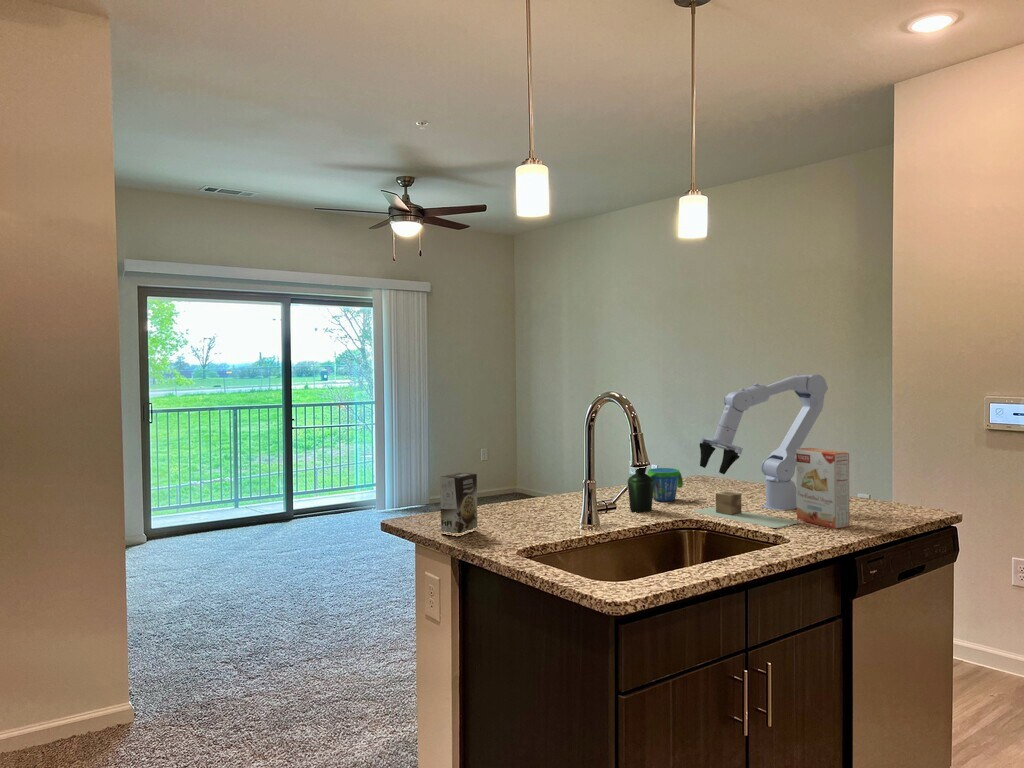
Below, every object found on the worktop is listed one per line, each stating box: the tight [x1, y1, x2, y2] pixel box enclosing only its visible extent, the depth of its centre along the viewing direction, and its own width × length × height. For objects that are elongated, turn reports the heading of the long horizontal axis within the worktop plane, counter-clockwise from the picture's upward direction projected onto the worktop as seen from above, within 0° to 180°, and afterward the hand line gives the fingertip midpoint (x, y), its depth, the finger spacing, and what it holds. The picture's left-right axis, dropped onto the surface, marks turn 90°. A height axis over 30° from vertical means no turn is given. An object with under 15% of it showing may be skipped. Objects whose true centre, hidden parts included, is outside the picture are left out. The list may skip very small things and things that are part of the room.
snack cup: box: [647, 467, 684, 502], centre depth 245 cm, size 16×10×10 cm
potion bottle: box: [627, 462, 654, 514], centre depth 226 cm, size 8×8×18 cm
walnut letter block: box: [715, 490, 742, 515], centre depth 220 cm, size 5×6×6 cm
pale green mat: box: [689, 506, 802, 529], centre depth 215 cm, size 12×30×1 cm, turn 35°
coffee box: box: [440, 472, 478, 533], centre depth 200 cm, size 9×6×16 cm
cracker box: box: [795, 447, 850, 530], centre depth 205 cm, size 14×6×21 cm, turn 23°
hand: (711, 470), depth 223 cm, fingers open, 7 cm apart
